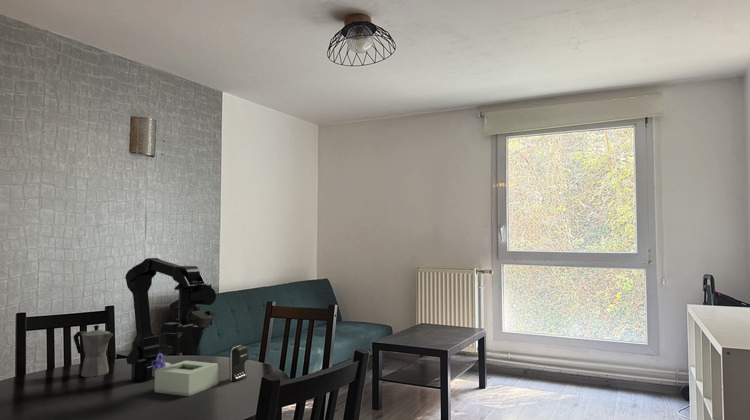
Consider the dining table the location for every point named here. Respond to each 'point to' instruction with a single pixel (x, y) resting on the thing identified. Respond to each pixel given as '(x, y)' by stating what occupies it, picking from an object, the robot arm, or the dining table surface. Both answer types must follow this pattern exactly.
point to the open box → (186, 378)
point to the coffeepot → (94, 351)
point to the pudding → (159, 362)
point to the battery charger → (238, 362)
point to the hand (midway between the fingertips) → (186, 350)
